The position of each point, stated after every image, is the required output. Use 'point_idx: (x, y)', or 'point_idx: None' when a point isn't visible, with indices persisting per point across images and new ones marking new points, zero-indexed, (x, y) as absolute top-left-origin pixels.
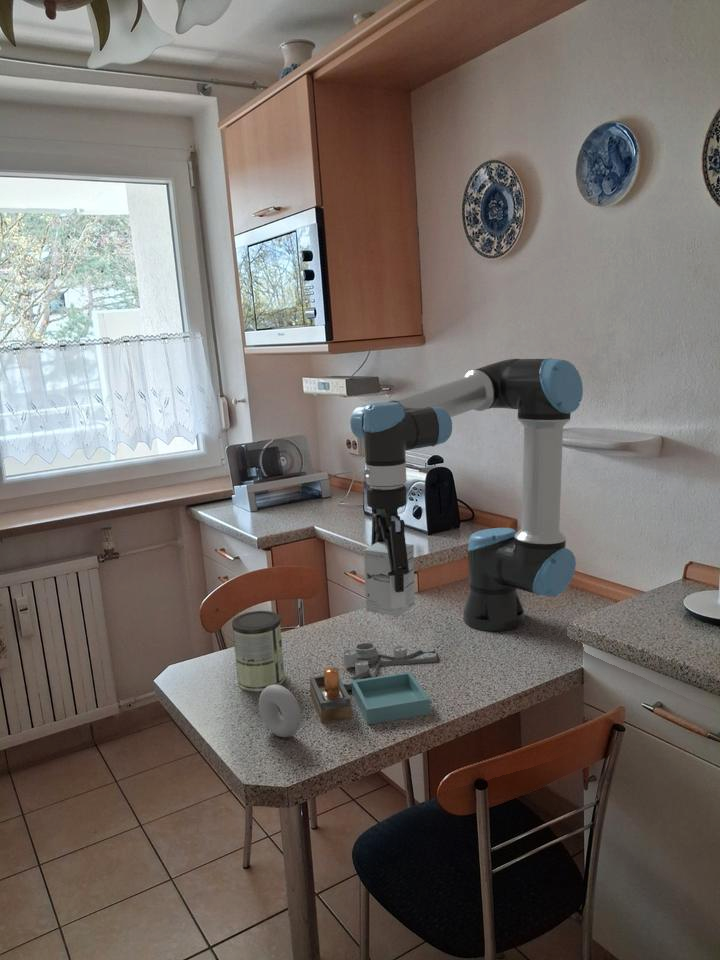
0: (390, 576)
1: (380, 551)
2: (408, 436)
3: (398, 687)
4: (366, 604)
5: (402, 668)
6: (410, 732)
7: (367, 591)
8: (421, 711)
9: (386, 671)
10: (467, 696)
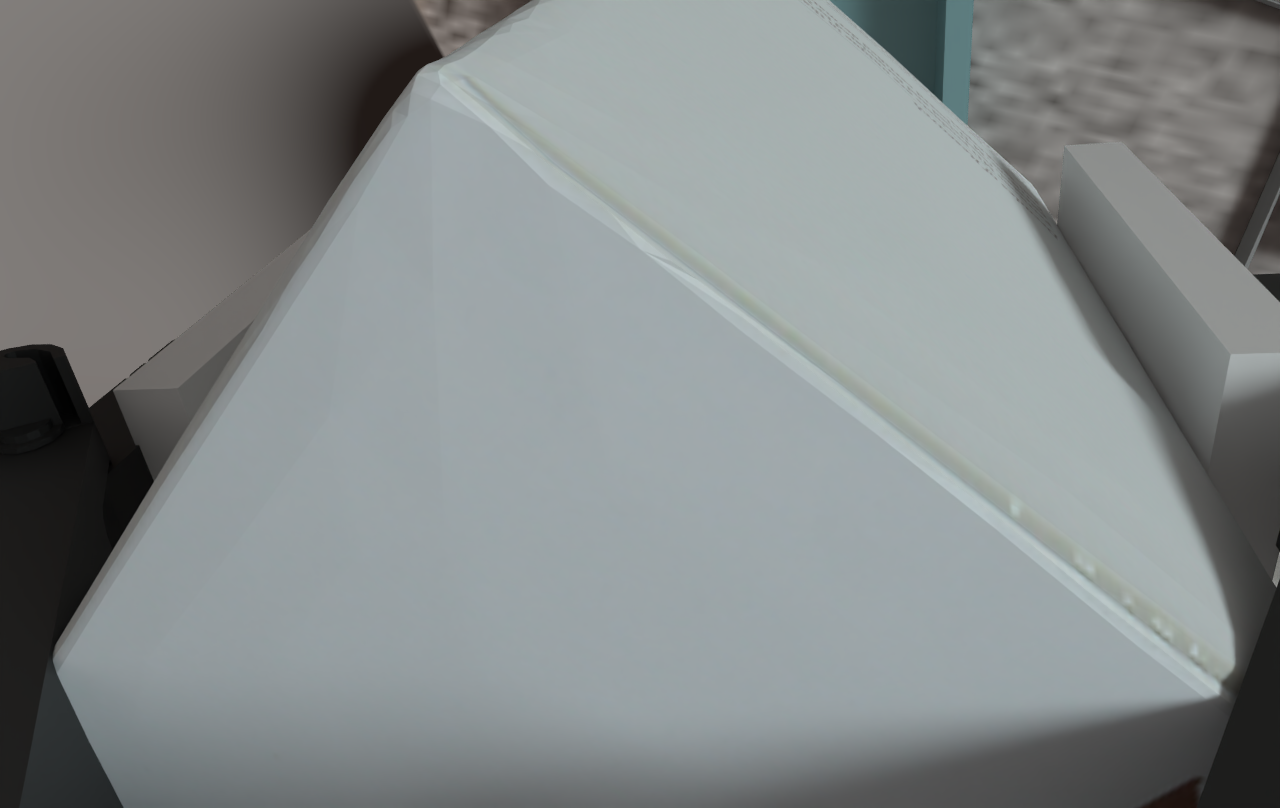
0: (162, 373)
1: (174, 533)
2: None
3: (922, 83)
4: None
5: (1200, 169)
6: (451, 39)
7: None
8: None
9: (1211, 59)
10: None
